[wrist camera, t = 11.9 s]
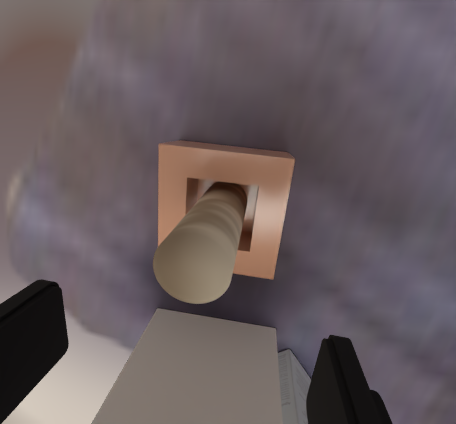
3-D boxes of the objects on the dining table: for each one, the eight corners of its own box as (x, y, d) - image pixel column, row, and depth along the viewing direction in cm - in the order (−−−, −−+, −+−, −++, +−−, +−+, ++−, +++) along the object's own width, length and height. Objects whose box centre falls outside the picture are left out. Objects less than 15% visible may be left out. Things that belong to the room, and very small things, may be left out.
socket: (288, 152, 23) (295, 159, 18) (271, 251, 26) (273, 279, 21) (179, 140, 24) (158, 143, 19) (176, 237, 27) (158, 261, 22)
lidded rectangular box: (295, 281, 27) (377, 661, 8) (282, 339, 29) (320, 729, 10) (148, 258, 28) (-85, 535, 9) (149, 316, 31) (-31, 624, 12)
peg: (249, 183, 23) (236, 239, 12) (244, 224, 24) (227, 309, 13) (206, 177, 23) (152, 227, 12) (203, 218, 25) (152, 296, 13)
